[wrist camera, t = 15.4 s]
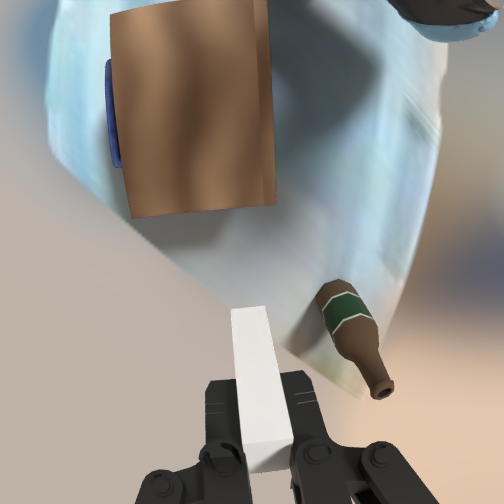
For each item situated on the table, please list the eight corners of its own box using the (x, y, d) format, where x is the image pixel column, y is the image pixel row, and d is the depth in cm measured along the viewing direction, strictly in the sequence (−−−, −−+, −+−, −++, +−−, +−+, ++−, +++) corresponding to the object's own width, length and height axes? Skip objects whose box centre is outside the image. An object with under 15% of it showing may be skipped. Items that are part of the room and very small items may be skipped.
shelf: (160, 177, 44) (131, 218, 29) (148, 43, 34) (110, 14, 19) (256, 167, 45) (276, 204, 30) (249, 32, 35) (266, -5, 20)
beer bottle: (311, 311, 58) (351, 413, 37) (319, 277, 55) (369, 379, 34) (347, 310, 59) (396, 404, 38) (357, 277, 56) (418, 371, 35)
